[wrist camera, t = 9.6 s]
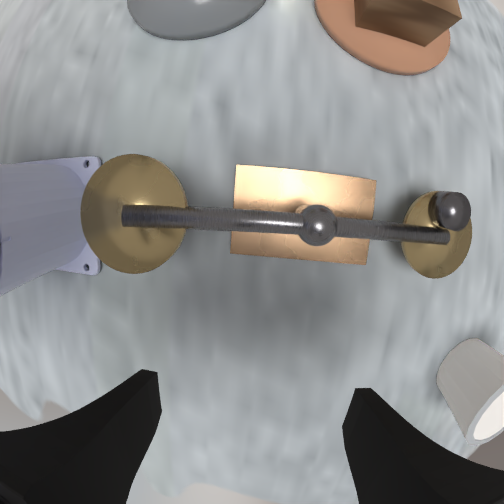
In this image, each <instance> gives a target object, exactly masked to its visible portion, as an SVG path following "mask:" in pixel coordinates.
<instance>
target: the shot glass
mask: <svg viewBox="0 0 504 504" xmlns="http://www.w3.org/2000/svg"><path fill="white" fill-rule="evenodd" d="M436 384H437V386H438V387H439V389H440V391H441V393H442V395H443V397H444V398H445V400H446V402H447V404H448V406H449V408H450V410H451V411H452V413H453V415H454V417H455V419H456V421H457V423H458V425H459V427H460V429H461V431H462V433H463V435H464V437H465V439H466V441H467V443H468V445H472V446H478V445H481V444H483V443H486V442H488V441H490V440H491V439H493V438H494V437H496V436H497V435H499V434H500V433H501V432H502V431H504V355H502V354H501V353H499V352H498V351H496V350H495V349H493V348H492V347H490V346H489V345H487V344H486V343H484V342H482V341H481V340H479V339H478V338H473V339H467V340H465V341H463V342H461V343H459V344H458V345H457V346H456V347H455V348H454V349H453V350H451V351H450V352H449V353H448V355H447V356H446V358H445V359H444V360H443V362H442V363H441V365H440V368H439V370H438V373H437V382H436Z"/></svg>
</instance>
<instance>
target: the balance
mask: <svg viewBox="0 0 504 504" xmlns="http://www.w3.org/2000/svg"><path fill="white" fill-rule="evenodd" d="M375 190H376V180H370V179H364V178H357V177H350V176H343V175H336V174H328V173H320V172H312V171H303V170H293V169H283V168H272V167H260V166H247V165H237V166H236V179H235V192H234V206H233V209H231V208H212V207H190V206H188V203H187V198H186V195H185V192H184V189H183V187H182V185H181V183H180V181H179V179H178V178H177V177H176V175H175V174H174V173H173V172H172V171H171V170H170V169H169V168H168V167H167V166H166V165H165V164H163V163H162V162H160V161H158V160H156V159H154V158H151V157H148V156H143V155H138V154H127V155H121V156H117V157H115V158H113V159H110V160H109V161H107V162H105V163H104V164H103V165H102V166H100V167H99V168H98V169H97V170H96V171H95V172H94V174H93V175H92V176H91V178H90V180H89V181H88V183H87V185H86V187H85V190H84V193H83V196H82V201H81V210H80V215H81V225H82V229H83V233H84V236H85V238H86V241H87V243H88V245H89V246H90V248H91V250H92V251H93V252H94V254H95V255H96V256H97V257H98V258H99V259H100V260H101V261H102V262H103V263H105V264H106V265H108V266H109V267H111V268H113V269H115V270H117V271H120V272H124V273H130V274H138V273H144V272H148V271H151V270H153V269H155V268H157V267H159V266H161V265H162V264H163V263H164V262H166V261H167V260H168V259H169V258H171V256H172V255H173V254H174V253H175V252H176V251H177V249H178V248H179V246H180V245H181V243H182V241H183V238H184V236H185V233H186V229H195V230H218V231H232V235H231V250H230V253H232V254H243V255H255V256H266V257H278V258H289V259H301V260H313V261H324V262H336V263H348V264H360V265H366V260H367V254H368V248H369V241H370V239H372V240H386V241H399V242H401V245H402V250H403V253H404V256H405V258H406V260H407V262H408V263H409V265H410V266H411V267H412V268H413V269H414V270H415V271H417V272H418V273H420V274H421V275H423V276H425V277H428V278H442V277H445V276H447V275H449V274H451V273H452V272H454V271H455V270H456V269H457V268H458V267H459V266H460V265H461V264H462V262H463V261H464V259H465V257H466V256H467V253H468V251H469V248H470V244H471V239H472V224H471V219H470V216H471V207H470V203H469V201H468V199H467V198H466V196H465V195H463V194H462V193H458V192H447V191H431V192H428V193H425V194H423V195H421V196H420V197H419V198H417V199H416V200H415V201H414V202H413V203H412V205H411V206H410V207H409V209H408V211H407V213H406V215H405V217H404V220H403V223H395V222H386V221H377V220H372V218H373V209H374V200H375Z"/></svg>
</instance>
